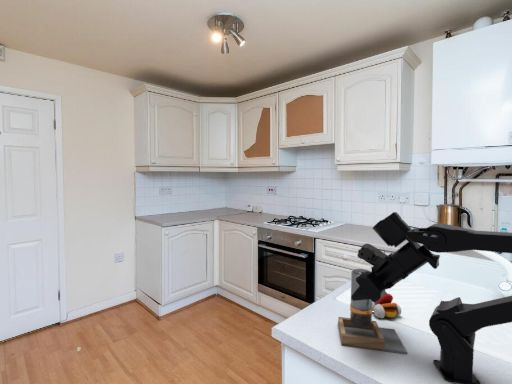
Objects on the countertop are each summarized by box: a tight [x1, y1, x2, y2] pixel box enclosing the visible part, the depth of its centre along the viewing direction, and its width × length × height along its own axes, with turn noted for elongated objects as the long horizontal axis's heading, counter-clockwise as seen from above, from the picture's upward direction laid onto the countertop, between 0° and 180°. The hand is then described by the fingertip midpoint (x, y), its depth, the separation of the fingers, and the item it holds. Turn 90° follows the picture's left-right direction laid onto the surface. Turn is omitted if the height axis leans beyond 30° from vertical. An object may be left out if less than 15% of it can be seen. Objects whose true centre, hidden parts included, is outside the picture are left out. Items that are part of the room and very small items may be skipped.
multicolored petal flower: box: [372, 290, 402, 319], centre depth 88 cm, size 8×10×7 cm
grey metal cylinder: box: [349, 268, 373, 327], centre depth 73 cm, size 5×5×13 cm
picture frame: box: [337, 316, 408, 355], centre depth 73 cm, size 11×15×2 cm
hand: (356, 295), depth 74 cm, fingers closed on grey metal cylinder, 5 cm apart
